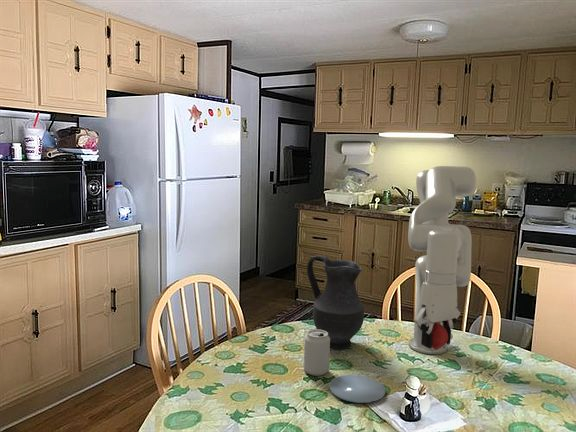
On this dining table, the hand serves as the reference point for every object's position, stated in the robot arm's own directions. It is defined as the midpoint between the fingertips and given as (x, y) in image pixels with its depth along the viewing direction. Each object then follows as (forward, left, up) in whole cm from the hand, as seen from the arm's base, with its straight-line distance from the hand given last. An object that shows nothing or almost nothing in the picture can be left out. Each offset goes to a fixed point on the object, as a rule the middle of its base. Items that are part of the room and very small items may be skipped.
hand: (435, 343), depth 126 cm
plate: (+16, -12, -15) cm, 25 cm away
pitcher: (+4, -43, -15) cm, 46 cm away
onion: (0, 0, -2) cm, 2 cm away
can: (+20, -27, -15) cm, 37 cm away
